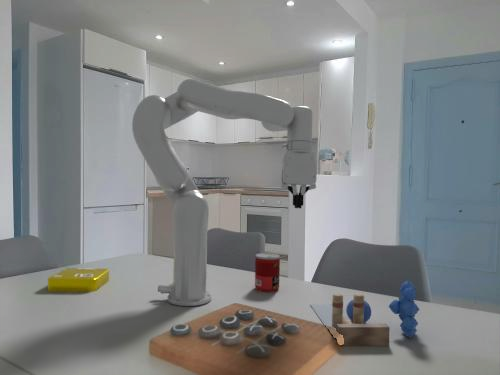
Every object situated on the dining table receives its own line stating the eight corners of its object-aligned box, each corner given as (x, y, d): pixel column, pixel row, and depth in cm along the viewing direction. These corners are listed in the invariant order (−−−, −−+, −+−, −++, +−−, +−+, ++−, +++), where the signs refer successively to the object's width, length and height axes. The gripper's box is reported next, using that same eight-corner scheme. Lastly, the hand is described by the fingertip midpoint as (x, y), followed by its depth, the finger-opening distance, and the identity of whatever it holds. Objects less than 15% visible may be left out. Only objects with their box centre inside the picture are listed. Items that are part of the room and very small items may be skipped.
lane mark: (334, 339, 85) (334, 338, 85) (310, 304, 109) (310, 304, 109) (373, 339, 85) (373, 338, 85) (341, 304, 109) (341, 304, 109)
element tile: (110, 280, 132) (110, 267, 132) (94, 293, 117) (95, 277, 117) (66, 280, 131) (66, 266, 131) (44, 292, 116) (45, 277, 116)
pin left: (333, 333, 88) (334, 296, 88) (330, 329, 91) (331, 293, 91) (343, 333, 88) (344, 296, 88) (340, 329, 91) (341, 293, 91)
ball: (368, 297, 93) (347, 291, 97) (359, 319, 90) (338, 313, 95) (378, 308, 96) (357, 302, 100) (370, 330, 93) (349, 324, 98)
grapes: (386, 322, 96) (387, 275, 96) (415, 326, 94) (416, 277, 94) (389, 340, 85) (390, 286, 85) (422, 344, 83) (424, 289, 83)
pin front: (338, 325, 93) (349, 339, 84) (339, 315, 93) (351, 328, 84) (348, 327, 93) (360, 341, 84) (349, 317, 93) (362, 330, 84)
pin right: (354, 333, 89) (355, 296, 88) (351, 329, 91) (351, 293, 91) (365, 333, 89) (366, 296, 89) (361, 329, 91) (362, 293, 91)
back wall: (338, 345, 81) (339, 327, 81) (336, 342, 83) (336, 323, 83) (389, 345, 82) (389, 327, 82) (385, 341, 84) (385, 323, 84)
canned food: (277, 293, 120) (278, 258, 120) (252, 291, 122) (253, 256, 122) (280, 286, 128) (281, 253, 127) (257, 284, 129) (257, 252, 129)
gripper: (276, 146, 112) (275, 208, 113) (326, 147, 113) (325, 209, 114) (273, 148, 120) (272, 206, 120) (320, 149, 121) (318, 207, 121)
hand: (297, 207), depth 117 cm, fingers closed
